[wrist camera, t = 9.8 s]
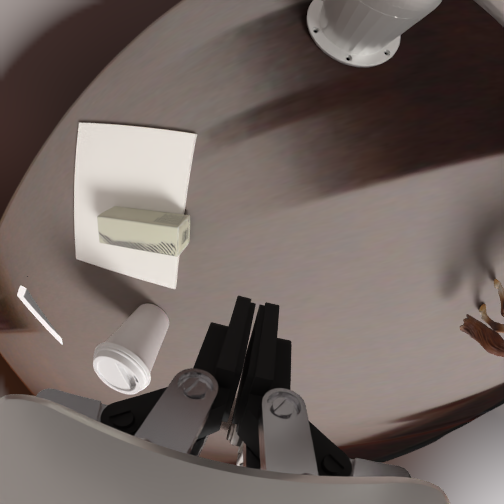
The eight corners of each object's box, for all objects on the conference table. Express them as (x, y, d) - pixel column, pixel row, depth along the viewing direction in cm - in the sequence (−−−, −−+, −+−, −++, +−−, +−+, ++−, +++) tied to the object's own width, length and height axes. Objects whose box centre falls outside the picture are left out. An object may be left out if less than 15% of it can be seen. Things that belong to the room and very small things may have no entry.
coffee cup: (175, 345, 52) (146, 405, 38) (129, 329, 52) (92, 383, 38) (179, 305, 48) (145, 367, 34) (129, 288, 48) (84, 342, 34)
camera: (236, 402, 57) (229, 440, 48) (274, 410, 57) (270, 448, 47) (226, 431, 62) (219, 464, 53) (258, 438, 62) (254, 471, 53)
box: (190, 243, 42) (116, 231, 43) (191, 214, 40) (115, 204, 41) (177, 258, 37) (98, 244, 38) (177, 226, 36) (95, 215, 37)
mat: (81, 122, 37) (79, 122, 36) (196, 134, 36) (195, 134, 36) (78, 257, 47) (76, 258, 46) (176, 287, 46) (174, 289, 46)
